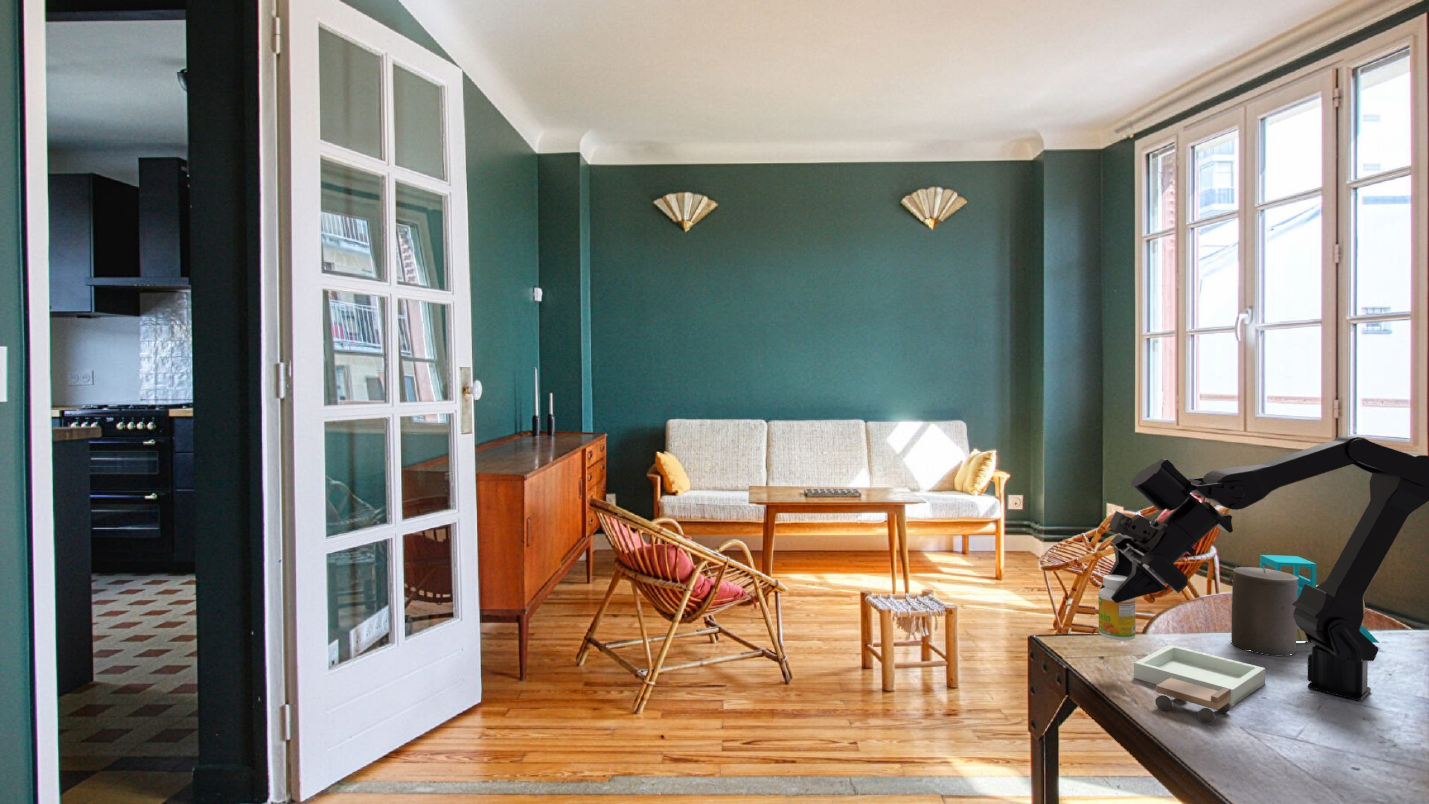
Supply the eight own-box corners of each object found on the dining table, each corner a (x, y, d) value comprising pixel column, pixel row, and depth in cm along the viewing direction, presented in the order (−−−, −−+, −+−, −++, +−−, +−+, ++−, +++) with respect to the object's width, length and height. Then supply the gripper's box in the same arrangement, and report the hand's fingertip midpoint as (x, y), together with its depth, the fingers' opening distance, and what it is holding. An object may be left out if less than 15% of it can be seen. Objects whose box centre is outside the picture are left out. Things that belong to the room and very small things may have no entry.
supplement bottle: (1091, 631, 126) (1091, 574, 126) (1122, 630, 127) (1121, 573, 127) (1111, 642, 121) (1110, 582, 121) (1143, 640, 121) (1142, 580, 121)
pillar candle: (1232, 650, 135) (1234, 568, 135) (1229, 634, 144) (1231, 557, 143) (1300, 661, 130) (1302, 575, 130) (1292, 644, 139) (1295, 564, 138)
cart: (1232, 714, 109) (1232, 687, 109) (1215, 726, 105) (1215, 699, 105) (1172, 696, 115) (1172, 671, 115) (1153, 707, 111) (1153, 681, 111)
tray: (1265, 683, 120) (1265, 668, 120) (1232, 706, 112) (1232, 689, 111) (1170, 658, 131) (1170, 644, 131) (1133, 677, 123) (1134, 662, 123)
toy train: (1382, 649, 136) (1383, 567, 136) (1278, 643, 140) (1279, 563, 139) (1355, 635, 144) (1355, 557, 144) (1257, 629, 147) (1258, 554, 147)
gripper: (1122, 488, 132) (1056, 549, 134) (1164, 504, 114) (1086, 574, 116) (1172, 533, 130) (1104, 594, 133) (1222, 557, 112) (1142, 627, 114)
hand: (1107, 595), depth 124 cm, fingers closed on supplement bottle, 5 cm apart
